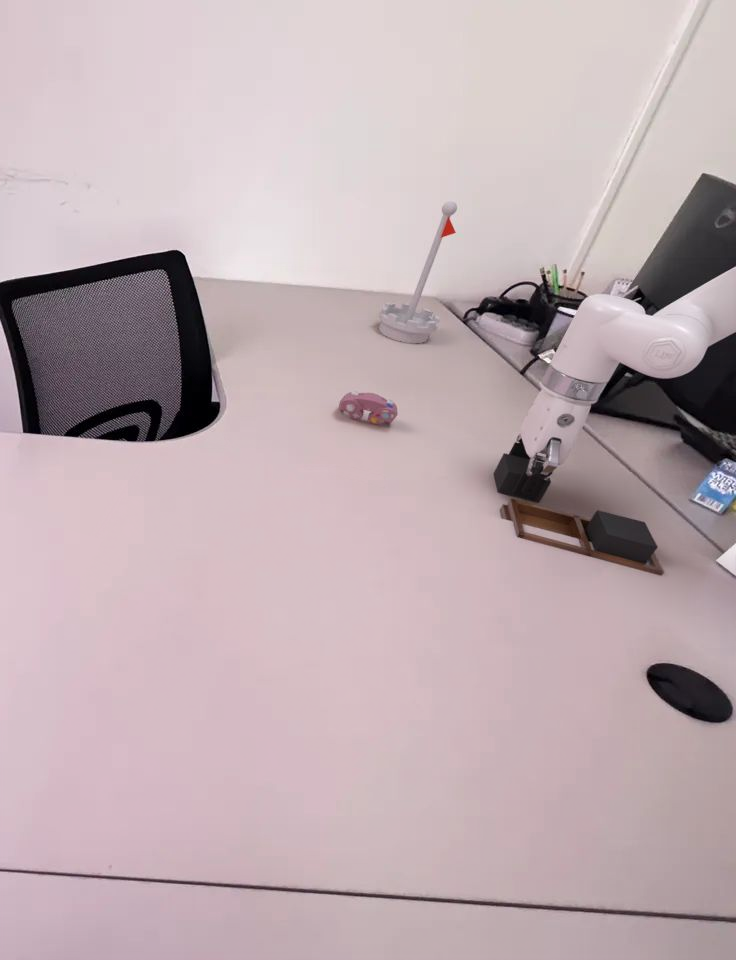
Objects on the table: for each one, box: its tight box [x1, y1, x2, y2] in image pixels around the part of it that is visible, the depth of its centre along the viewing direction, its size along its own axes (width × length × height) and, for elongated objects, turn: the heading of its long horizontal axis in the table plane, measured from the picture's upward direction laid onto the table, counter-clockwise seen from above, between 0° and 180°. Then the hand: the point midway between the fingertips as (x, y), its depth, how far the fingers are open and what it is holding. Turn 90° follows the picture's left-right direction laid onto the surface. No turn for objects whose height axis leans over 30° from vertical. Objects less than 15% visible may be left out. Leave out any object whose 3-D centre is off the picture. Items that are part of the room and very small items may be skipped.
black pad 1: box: [493, 452, 552, 504], centre depth 106 cm, size 6×6×4 cm
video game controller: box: [338, 390, 398, 425], centre depth 120 cm, size 10×5×7 cm, turn 68°
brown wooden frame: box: [499, 498, 665, 576], centre depth 95 cm, size 18×10×2 cm, turn 69°
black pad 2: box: [584, 509, 658, 564], centre depth 93 cm, size 6×6×4 cm
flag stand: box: [378, 200, 458, 345], centre depth 152 cm, size 13×13×30 cm
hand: (519, 480), depth 107 cm, fingers open, 9 cm apart
